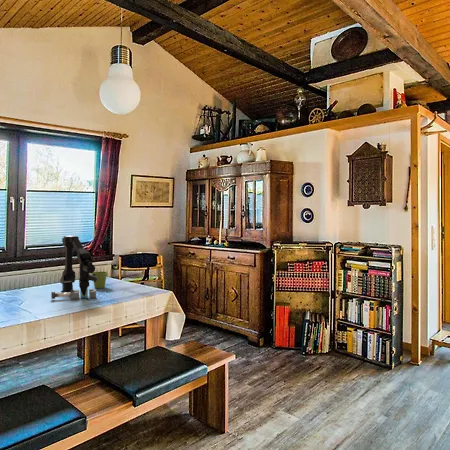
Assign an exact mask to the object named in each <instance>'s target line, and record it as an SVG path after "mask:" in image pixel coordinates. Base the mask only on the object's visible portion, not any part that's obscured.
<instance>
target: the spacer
mask: <svg viewBox="0 0 450 450" xmlns="http://www.w3.org/2000/svg"><path fill="white" fill-rule="evenodd" d="M79 289H80V288H79ZM88 297H89V288H88V287H87V289H86V294H85V296H83V294H82V291H81V289H80V290H79V298H88Z"/></svg>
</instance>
